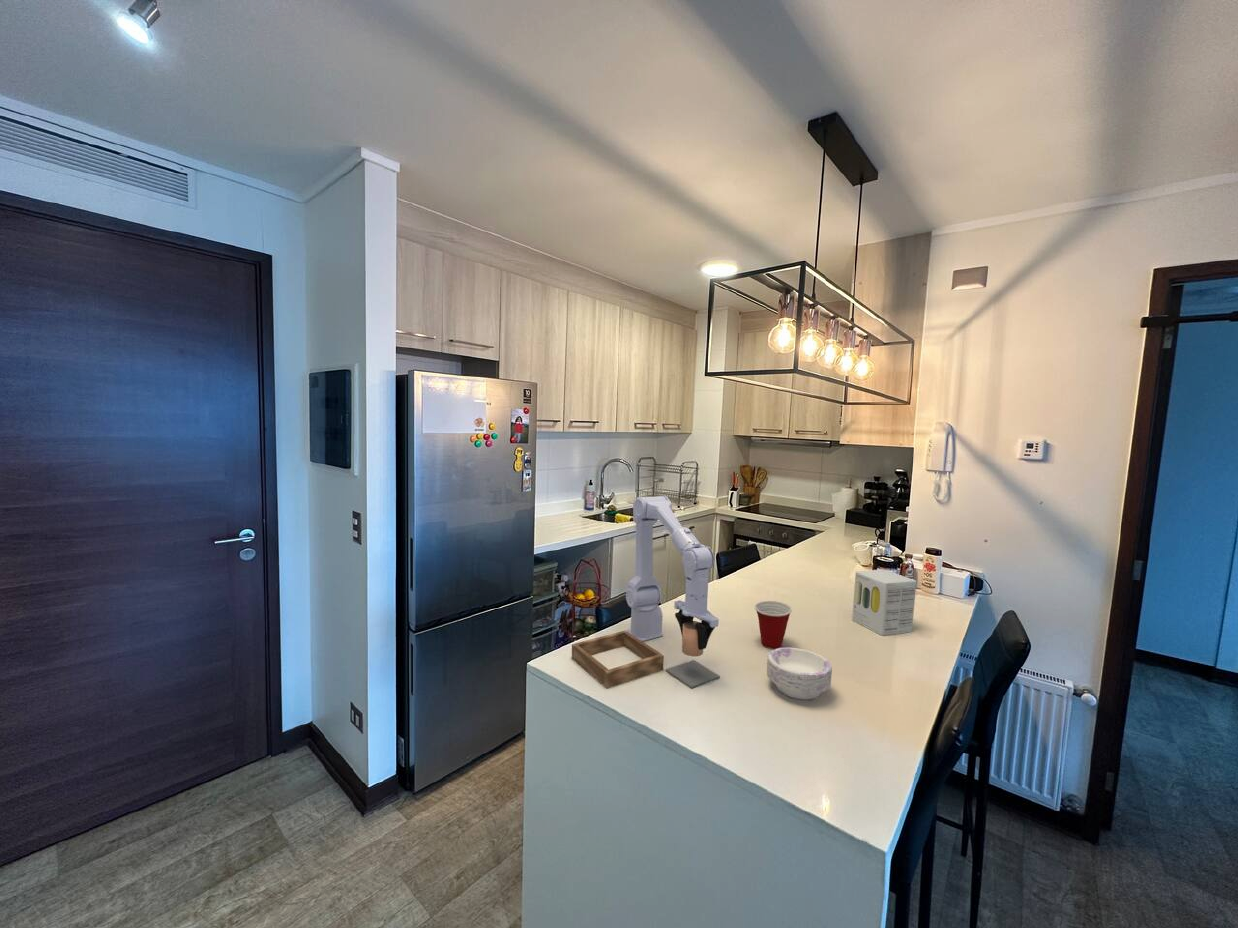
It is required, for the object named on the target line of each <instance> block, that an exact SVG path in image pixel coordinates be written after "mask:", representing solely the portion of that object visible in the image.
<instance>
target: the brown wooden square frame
mask: <svg viewBox="0 0 1238 928" xmlns="http://www.w3.org/2000/svg"><path fill="white" fill-rule="evenodd" d="M621 647H625V648H626V649H627V650H628V651H630V652H632V653H633V654H635V655H636V656H637V657H639V658H640V659H639V660H635V661H633V662H629V663H626V664H623V665H619V666H617V667H613V668H608V667H606V666H605V665H603V664H602V663H601V662H600V661H599V660H597V659H596V658H595V657H594V656H593V655H596V654H599V653H603V652H607V651H611V650H614V649H617V648H621ZM664 657H665V655H664V654H662V653H661V652H660V651H658V650H657V649H656V648H655V649H654V648H653V647H652V646H651V645H649V644H647V643H646V642H645V641H641V640H639V639H638V638H636V637H635V636H633V635H632V634H630V633H628V632H627V630H622V631H617V632H614V633H610V634H606V635H602V636H599V637H594V638H592V639H591V638H590V639H587V640H586V639H585V640H584V641H579V642H576V643H572V644H571V659H572V660H573V661H574V662H576V663H577V664H578V665H579V666H580V667H581V668H582V669H584V670H585V671H586V672H587V673H588V674H589V675H590V676H591V677H593V678H594V679H595V680H596V679H597V680H598V682H599V684H601V685H602V684H603V685H604V686H605V687H604V686H603V685H602V686H603V687H604V688H605V689H609V687H610V688H612V686H613V687H616V686H619V685H622V684H625V683H628V682H630V680H631V681H634V680H637V679H641V678H643V677H646V676H648V675H651V674H654V673H657V672H661V671H664V664H665V663H664V662H665V661H664V660H665V658H664ZM597 680H596V681H597ZM618 684H619V685H618ZM615 685H616V686H615Z"/></svg>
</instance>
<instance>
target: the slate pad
mask: <svg viewBox="0 0 1238 928" xmlns="http://www.w3.org/2000/svg"><path fill="white" fill-rule="evenodd" d="M665 673H668V674H669V675H670V676H671V677H673V678H675V679H676V680H677V681H679V682H681V684H683V685H685V686H687V688H689V689H691V690H693V689H696V688H698V687H700V686H704V685H706V684H710V683H711V682H713V681H717V680H719V679H721V676H720V674H718V673H716V672H714V671H713V670H711V669H709V668H707V667H706V666H705V665H703V664H702V663H699V662H698V661H697V660H694V659H693V660H690V661H687V662H684V663H681V664H677V665H674V666H672V667H669V668H666V669H665Z"/></svg>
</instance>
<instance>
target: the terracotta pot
mask: <svg viewBox="0 0 1238 928" xmlns="http://www.w3.org/2000/svg"><path fill="white" fill-rule="evenodd" d="M700 622H701V621H696V620H693V621H687V622H685V623H683V634H681V638H682V639H681V652H682V654H684V655H686V656H688V657H700V656H702V655H703V654H704V649H702V650H700V649H698V634H697V629H696V626H695V624H696V623H700Z"/></svg>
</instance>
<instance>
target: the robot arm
mask: <svg viewBox="0 0 1238 928" xmlns="http://www.w3.org/2000/svg"><path fill="white" fill-rule="evenodd" d="M632 505H633V506H632V515H633V516H632V518H633V521H632V522H634V523H635V576H633V577H632V578H631V579H630V580H629V581H628V582H627V588H626V592H625V600H626V602H627V605H628V607H629V608H630V609H631V611H630V612H631V613H630V614H631V615H630V629H628V630H626V631H627V632H628V633H630V634H632V635H633V636H635V637H636V638H638V639H639V640H641V641H642V642H645V641H646V642H647V641H650V640H652V639H655V638H660V637H664V633H663V612H662V608H661V607H660V606H659V604H660V603H661V601H662V591H661V587H660V586H661V585H660V580H658V579H657V578H655V577H654V571H653V570H654V569H653V568H654V567H653V565H654V563H653V561H654V557H653V556H654V555H653V553H654V551H653V549H654V547H653V546H654V545H653V541H654V540H653V539H654V538H653V536H654V535H653V532H654V530H653V527H654V525H655V524H656V523H657V522H658V521H659V522H661V524H662V525H663V526H664V527H665V528H666V530H667V531H668V532H669V533H670V534H671V535H672V536H671V542H672V544H673V545H674V547H675V548H676V549H677V551H678V552H679V553H680V555H681V556H682V557H681V561H682V565H683V568H684V573H683V574H684V575H685V577H686V579H685V595H684V601H682V600H677V601H676V600H675V601H674V608H673V609H674V610H678V612H675V614H674V617H675V619H676V620H677V623H678V624H679V630H680V632H681V635H682V634H683V623H685V622H687V621H694V618H695V619H698V620H700V621H699V622H700V623H696V624H695V626H696V629H697V634H698V649H700V650H702V649H703V650H705V649H707V646H708V642H709V639H710V637H711V635H712V633H713V631H714V630H715V628H717V627H719V618H718V617H716V616H715V615H714V614H712V612H710V611H709V610H708V594H709V593H708V592H709V578H710V575H709V574H710V569H712V568H714V565H715V554H714V552H713V550H712V549H711V547H710V546H707V545H704V544H701V542H700V541H699V540H698V539H697V537H696V536H695V535H694V534H693V533H692V530H691V529H690V528H688V527H685V526H684V527H683V526H682V524H681V523H680V521H679V519H678V518H677V516H676V515H675V513H674V512H673V510H672V509H673V507H672V501H670V499H669V498H668V496H666V495H660V496H658V495H657V496H637V497H636V499H635V500H634V501H633V504H632Z"/></svg>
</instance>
